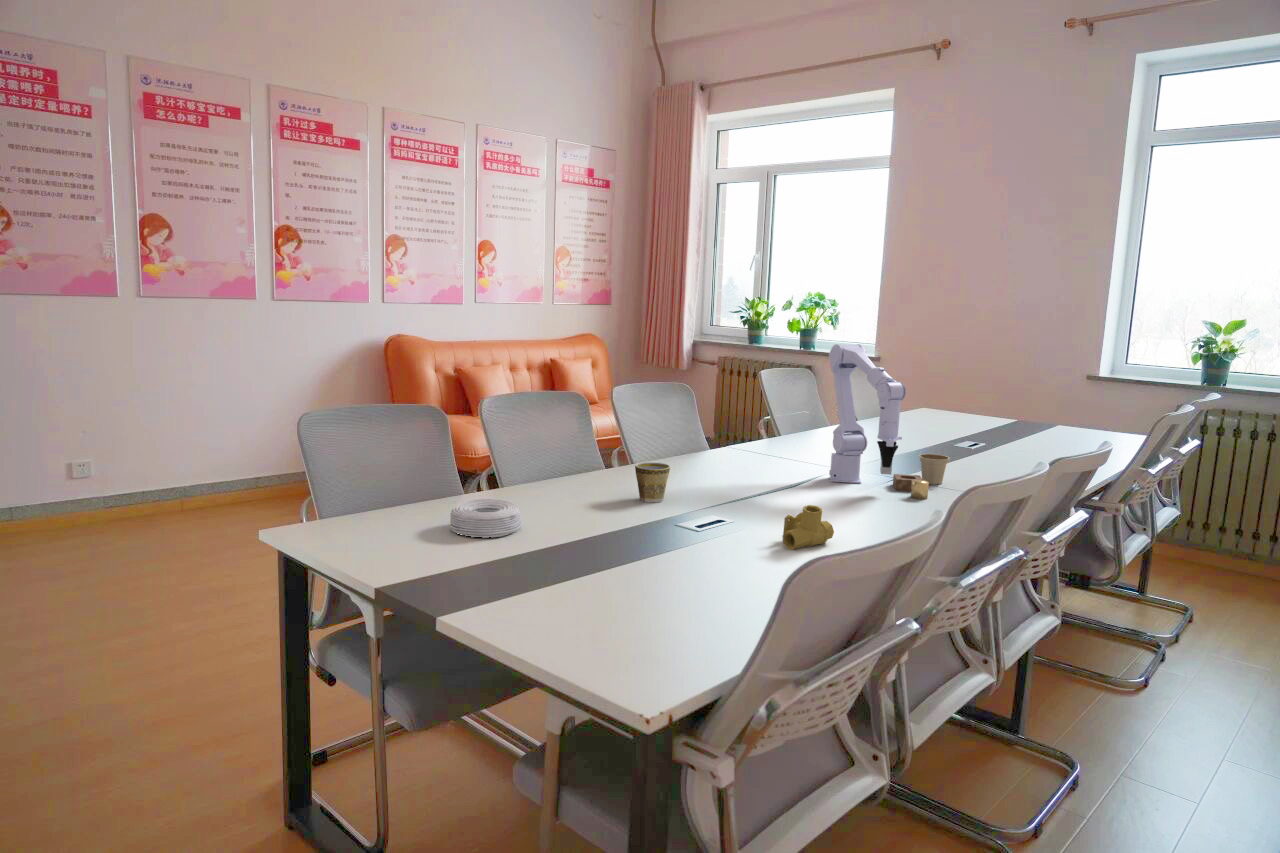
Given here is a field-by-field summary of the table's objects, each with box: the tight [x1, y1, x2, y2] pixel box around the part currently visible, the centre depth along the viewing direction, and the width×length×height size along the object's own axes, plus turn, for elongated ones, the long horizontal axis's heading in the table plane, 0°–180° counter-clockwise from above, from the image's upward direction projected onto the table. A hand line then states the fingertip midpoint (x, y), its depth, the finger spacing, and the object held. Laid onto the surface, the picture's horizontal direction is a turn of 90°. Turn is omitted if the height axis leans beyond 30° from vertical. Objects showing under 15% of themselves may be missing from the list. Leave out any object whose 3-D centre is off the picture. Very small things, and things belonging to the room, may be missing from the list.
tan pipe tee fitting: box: [781, 504, 835, 551], centre depth 205 cm, size 13×10×10 cm
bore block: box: [892, 473, 922, 492], centre depth 268 cm, size 8×8×4 cm
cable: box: [449, 498, 523, 539], centre depth 211 cm, size 18×18×6 cm
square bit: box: [879, 455, 893, 475], centre depth 259 cm, size 3×3×6 cm
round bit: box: [910, 480, 930, 501], centre depth 256 cm, size 5×5×5 cm
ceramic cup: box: [634, 462, 671, 503], centre depth 246 cm, size 13×10×10 cm
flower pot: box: [918, 453, 950, 486], centre depth 277 cm, size 9×9×9 cm
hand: (885, 466), depth 259 cm, fingers closed on square bit, 3 cm apart
